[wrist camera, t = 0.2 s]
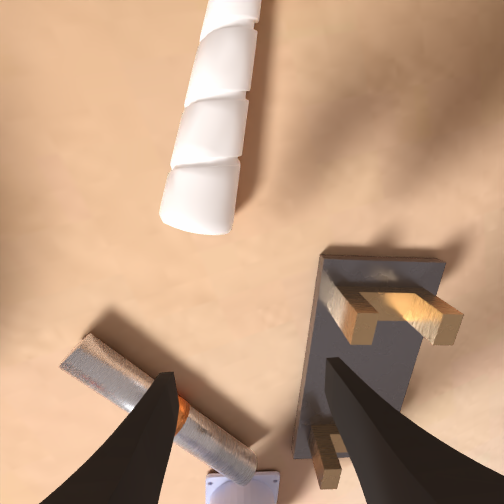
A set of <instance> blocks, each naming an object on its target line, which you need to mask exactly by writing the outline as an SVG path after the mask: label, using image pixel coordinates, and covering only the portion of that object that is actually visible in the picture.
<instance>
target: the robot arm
mask: <svg viewBox="0 0 504 504" xmlns="http://www.w3.org/2000/svg"><path fill="white" fill-rule="evenodd" d="M324 392H325V395H326V399H327V402H328V405H329V408H330V411H331V414H332V417H333V419H334V422H335V424H336V426H337V429H338V431H339V433H340V436H341V438H342V440H343V443H344V445H345V447H346V450H347V452H348V454H349V457H350V459H351V461H352V463H353V466H354V468H355V471H356V473H357V476H358V478H359V481H360V484H361V487H362V490H363V493H364V496H365V499H366V502H367V504H504V476H503V475H501V474H499V473H497V472H495V471H493V470H491V469H489V468H487V467H485V466H483V465H482V464H480V463H478V462H476V461H474V460H473V459H471V458H469V457H467V456H465V455H464V454H462V453H460V452H458V451H457V450H455V449H453V448H452V447H450V446H448V445H447V444H445V443H444V442H442V441H440V440H439V439H437V438H436V437H434V436H433V435H431V434H430V433H428V432H426V431H425V430H424V429H422V428H421V427H419V426H418V425H416V424H415V423H414V422H412V421H411V420H409V419H408V418H407V417H405V416H404V415H403V414H401V413H400V412H399V411H397V410H396V409H395V408H394V407H392V406H391V405H390V404H389V403H388V402H386V401H385V400H384V399H383V398H382V397H381V396H379V395H378V394H377V393H376V392H375V391H374V390H373V389H372V388H371V387H369V386H368V385H367V384H366V383H365V382H364V381H363V380H362V379H361V378H360V377H359V376H358V375H357V374H356V373H355V372H354V371H353V370H352V369H351V368H349V367H348V366H347V365H346V364H345V363H344V362H343V361H342V360H341V359H340V358H339V357H332V358H326V368H325V390H324ZM179 406H180V405H179V400H178V394H177V389H176V383H175V378H174V372H165V373H160V374H159V375H158V376H157V377H156V379H155V380H154V382H153V383H152V384H151V386H150V387H149V388H148V390H147V391H146V393H145V394H144V395H143V397H142V398H141V399H140V401H139V402H138V403H137V404H136V406H135V407H134V408H133V410H132V411H131V412H130V413H129V415H128V416H127V417H126V418H125V419H124V421H123V422H122V423H121V424H120V425H119V427H118V428H117V429H116V430H115V431H114V432H113V434H112V435H111V436H110V437H109V438H108V439H107V440H106V441H105V443H104V444H103V445H102V446H101V447H100V448H99V449H98V450H97V451H96V452H95V453H94V454H93V455H92V456H91V457H90V458H89V459H88V460H87V461H86V462H85V463H84V464H83V465H82V466H81V467H80V468H79V469H78V470H77V471H76V472H75V473H74V474H72V475H71V476H70V477H69V478H68V479H67V480H66V481H65V482H64V483H63V484H62V485H61V486H59V487H58V488H57V489H56V490H55V491H54V492H52V493H51V494H50V495H49V496H48V497H47V498H45V499H44V500H43V501H42V502H41V503H39V504H158V500H159V496H160V491H161V487H162V483H163V479H164V475H165V471H166V467H167V464H168V460H169V456H170V452H171V448H172V444H173V440H174V436H175V432H176V427H177V420H178V413H179ZM279 482H280V473H279V472H277V471H266V472H255V474H254V476H253V478H252V480H251V481H250V482H249V483H248V484H247V485H245V486H239V485H237V484H236V483H234V482H233V481H231V480H230V479H228V478H227V477H225V476H223V475H222V474H220V473H210V474H208V475H207V476H206V504H277V497H278V490H279Z"/></svg>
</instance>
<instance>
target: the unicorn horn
mask: <svg viewBox="0 0 504 504" xmlns="http://www.w3.org/2000/svg"><path fill="white" fill-rule="evenodd" d="M261 1H262V0H209V1H208V5H207V10H206V14H205V18H204V22H203V27H202V31H201V35H200V44H199V46H198V49H197V52H196V56H195V61H194V65H193V69H192V73H191V77H190V82H189V86H188V90H187V95H186V99H185V103H184V104H185V109H184V111H183V113H182V116H181V121H180V125H179V129H178V134H177V138H176V142H175V146H174V150H173V155H172V159H171V163H170V165H171V167H172V169H173V170H171V171H170V172H169V173H168V176H167V180H166V185H165V189H164V193H163V197H162V201H161V205H160V214H159V215H160V217H161V219H162V221H163V222H164V223H166V224H168V225H170V226H172V227H175V228H178V229H181V230H184V231H188V232H192V233H197V234H206V235H223V234H228V233H229V232H230V231H231V230H232V226H233V222H234V213H235V205H236V197H237V189H238V181H239V174H240V166H241V164H240V161H239V160H238V156H241V155H242V151H243V143H244V135H245V127H246V120H247V113H248V105H249V100H247V99H246V91H250V89H251V81H252V73H253V65H254V57H255V49H256V41H257V33H258V32H257V31H256V30H254V23H258V22H259V17H260V9H261Z"/></svg>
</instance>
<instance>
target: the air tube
mask: <svg viewBox="0 0 504 504" xmlns="http://www.w3.org/2000/svg"><path fill="white" fill-rule="evenodd" d="M58 368H60V369H61V370H63V371H65V372H66V373H68V374H69V375H71V376H72V377H74V378H75V379H77V380H78V381H80V382H81V383H83V384H84V385H86V386H87V387H89V388H91V389H92V390H94V391H95V392H97V393H98V394H100V395H101V396H103V397H104V398H106V399H107V400H109V401H110V402H112V403H113V404H115V405H117V406H118V407H120V408H121V409H123V410H124V411H126V412H127V413H130V412H131V411H132V410H133V408H134V407H135V406H136V404H137V403H138V402H139V401H140V399H141V398H142V397H143V395H144V394H145V393H146V391H147V390H148V388H149V387H150V386H151V384H152V383H153V382H154V379H153V378H152V377H150V376H149V375H147V374H146V373H145V372H143V371H142V370H141V369H139V368H138V367H136V366H135V365H134V364H132V363H131V362H130V361H128V360H127V359H125V358H124V357H123V356H121V355H120V354H119V353H117V352H116V351H114V350H113V349H112V348H110V347H109V346H107V345H106V344H105V343H103V342H102V341H101V340H99V339H98V338H96V337H95V336H94V335H92V334H91V333H89V334H88V335H87V336H86V337H85V338H84V339H82V340H81V341H80V342H79V343H78V344H77V345H76V346H75V348H74V349H73V350H72V351H71V352H70V353H69V354H68V355H67V356H66V357H65V358H64V359H63V361H62V362H61V363H60V364H59V366H58ZM178 400H179V405H180V406H179V413H178V420H177V427H176V432H175V436H174V440H173V443H175V444H176V445H178V446H179V447H181V448H182V449H184V450H185V451H187V452H188V453H190V454H191V455H193V456H194V457H196V458H197V459H199V460H201V461H202V462H204V463H205V464H207V465H208V466H210V467H211V468H213V469H214V470H216V471H217V472H219V473H220V474H222V475H223V476H225V477H227V478H228V479H230V480H231V481H233V482H234V483H236V484H237V485H239V486H245V485H247V484H248V483H249V482H250V481H251V480H252V478H253V476H254V474H255V471H256V467H257V457H256V454H255V452H254V451H252V450H251V449H250V448H248V447H247V446H245V445H244V444H243V443H241V442H240V441H239V440H237V439H236V438H234V437H233V436H232V435H230V434H229V433H228V432H226V431H225V430H223V429H222V428H221V427H219V426H218V425H216V424H215V423H214V422H212V421H211V420H210V419H208V418H207V417H205V416H204V415H203V414H201V413H200V412H199V411H197V410H196V409H194V408H193V407H192V406H190V404H189V403H188V402H187V401H186V400H184V399H183V398H181V397H180V396H179V395H178Z"/></svg>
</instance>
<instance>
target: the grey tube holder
mask: <svg viewBox="0 0 504 504" xmlns="http://www.w3.org/2000/svg"><path fill="white" fill-rule="evenodd" d="M445 265H446V263H445V262H443V261H441V260H439V259H436V258H406V257H375V256H344V255H320V258H319V265H318V271H317V278H316V285H315V292H314V299H313V306H312V312H311V319H310V326H309V333H308V340H307V346H306V353H305V360H304V367H303V374H302V381H301V387H300V394H299V401H298V408H297V415H296V422H295V428H294V435H293V442H292V454H293V459H311V458H312V460H313V464H314V468H315V471H316V475H317V479H318V483H319V486H320V489H337V487H338V483H339V479H340V475H341V471H342V468H341V465H340V462H339V460H338V458H344V457H349V454H348V452H347V450H346V447H345V445H344V443H343V440H342V438H341V436H340V433H339V431H338V429H337V426H336V424H335V422H334V419H333V417H332V414H331V411H330V408H329V405H328V402H327V399H326V395H325V392H324V390H325V368H326V358H332V357H339V358H340V359H341V360H342V361H343V362H344V363H345V364H346V365H347V366H348V367H349V368H351V369H352V370H353V371H354V372H355V373H356V374H357V375H358V376H359V377H360V378H361V379H362V380H363V381H364V382H365V383H366V384H367V385H368V386H369V387H371V388H372V389H373V390H374V391H375V392H376V393H377V394H378V395H379V396H381V397H382V398H383V399H384V400H385V401H386V402H388V403H389V404H390V405H391V406H392V407H394V408H395V409H396V410H397V411H399V412H400V410H401V407H402V403H403V400H404V397H405V394H406V390H407V387H408V384H409V381H410V378H411V374H412V371H413V368H414V365H415V361H416V358H417V355H418V352H419V349H420V345H421V342H422V339H423V336H424V337H425V338H426V339H427V340H428V341H429V342H430V343H431V344H432V345H453V344H454V341H455V338H456V335H457V333H458V330H459V327H460V324H461V321H462V319H463V316H464V314H462V313H461V312H459V311H458V310H456V309H455V308H453V307H452V306H450V305H449V304H447V303H446V302H444V301H443V300H441V299H440V298H438V297H437V296H436V294H437V291H438V287H439V284H440V281H441V278H442V274H443V271H444V268H445Z"/></svg>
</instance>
